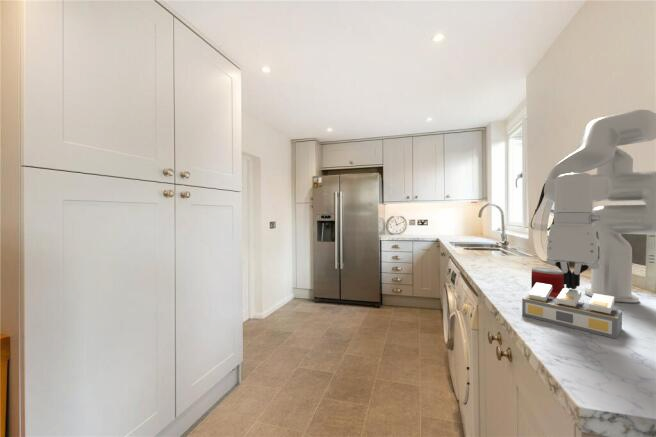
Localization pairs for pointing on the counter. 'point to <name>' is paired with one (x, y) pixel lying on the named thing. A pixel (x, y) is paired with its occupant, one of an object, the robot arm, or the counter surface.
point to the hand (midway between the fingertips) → (571, 287)
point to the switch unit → (574, 316)
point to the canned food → (548, 279)
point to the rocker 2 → (569, 297)
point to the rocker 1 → (540, 292)
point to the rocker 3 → (601, 303)
